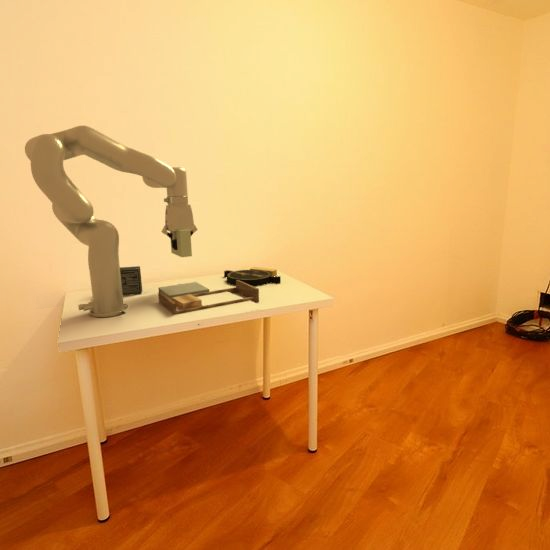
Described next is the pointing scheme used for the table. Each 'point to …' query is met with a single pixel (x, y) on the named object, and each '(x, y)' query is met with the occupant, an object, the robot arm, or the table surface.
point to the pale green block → (183, 243)
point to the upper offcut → (187, 301)
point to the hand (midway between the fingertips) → (181, 248)
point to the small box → (131, 280)
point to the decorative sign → (253, 276)
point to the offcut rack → (240, 288)
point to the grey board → (183, 289)
